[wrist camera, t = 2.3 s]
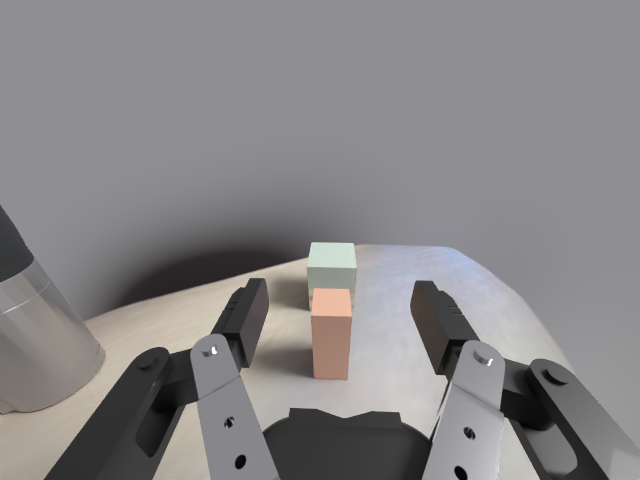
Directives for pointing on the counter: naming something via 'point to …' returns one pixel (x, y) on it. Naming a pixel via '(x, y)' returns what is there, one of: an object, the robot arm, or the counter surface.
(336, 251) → the tower top block
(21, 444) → the counter surface
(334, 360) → the peach block
